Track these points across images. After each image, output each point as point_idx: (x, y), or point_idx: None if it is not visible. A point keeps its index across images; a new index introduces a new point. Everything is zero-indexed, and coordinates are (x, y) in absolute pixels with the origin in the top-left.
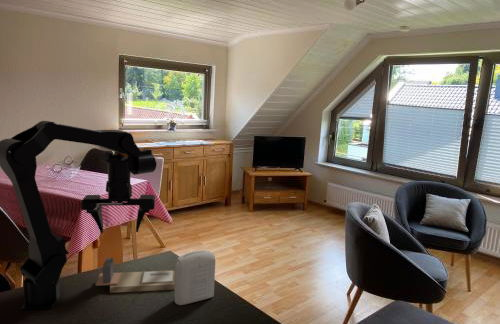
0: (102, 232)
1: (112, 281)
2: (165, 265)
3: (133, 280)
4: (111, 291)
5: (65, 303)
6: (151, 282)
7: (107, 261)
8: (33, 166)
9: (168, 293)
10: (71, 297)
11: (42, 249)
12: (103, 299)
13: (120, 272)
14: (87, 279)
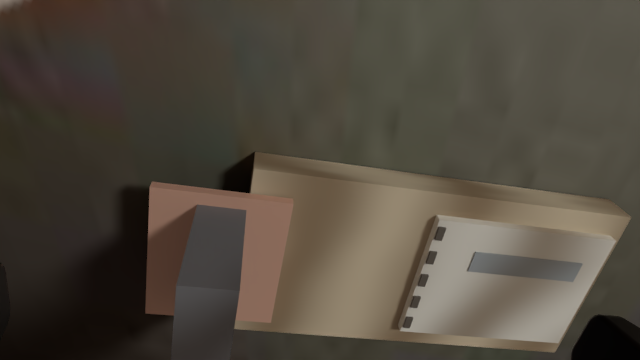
0: (3, 327)
1: (242, 303)
2: (627, 40)
3: (364, 286)
4: None
5: (24, 351)
6: (453, 332)
7: (193, 342)
8: None
9: (501, 351)
10: (34, 310)
11: None
12: None
13: (293, 203)
14: (66, 129)
